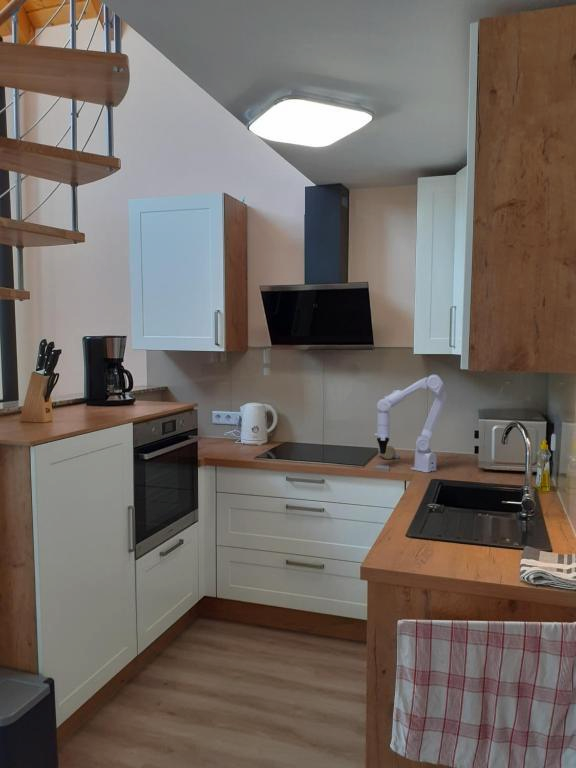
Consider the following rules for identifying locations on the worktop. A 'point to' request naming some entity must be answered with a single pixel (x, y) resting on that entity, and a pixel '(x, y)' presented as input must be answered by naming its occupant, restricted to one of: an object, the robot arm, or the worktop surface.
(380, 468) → the tile
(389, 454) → the ceramic mug
